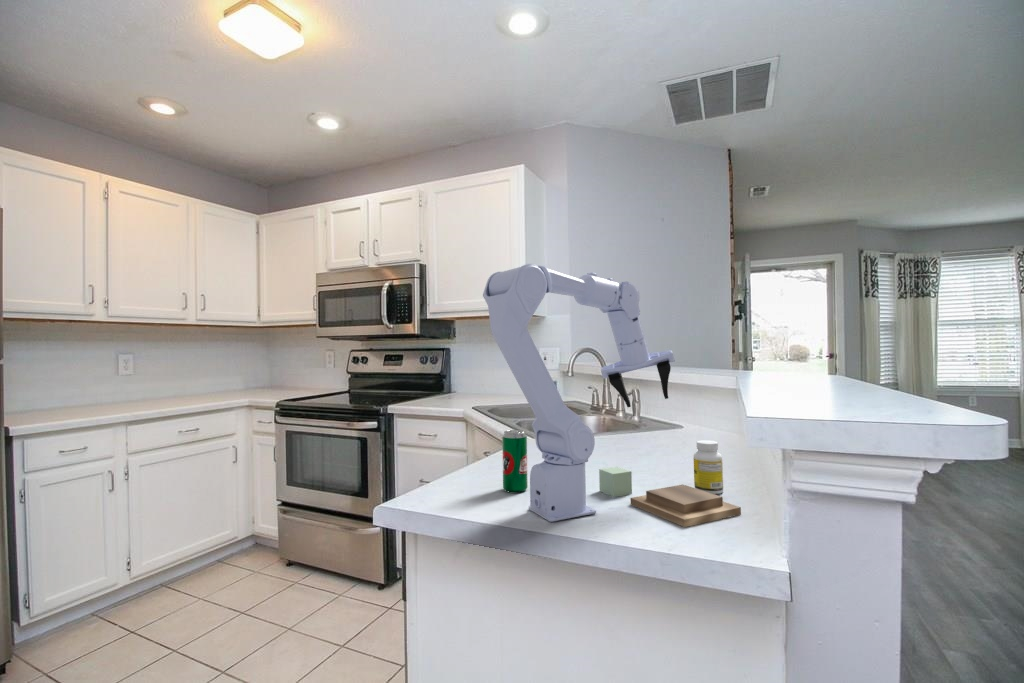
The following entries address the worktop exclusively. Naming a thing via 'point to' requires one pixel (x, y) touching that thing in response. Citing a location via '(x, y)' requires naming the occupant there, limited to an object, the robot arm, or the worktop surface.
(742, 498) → the worktop surface
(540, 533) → the worktop surface
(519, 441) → the soda can
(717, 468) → the supplement bottle
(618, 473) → the sage block
